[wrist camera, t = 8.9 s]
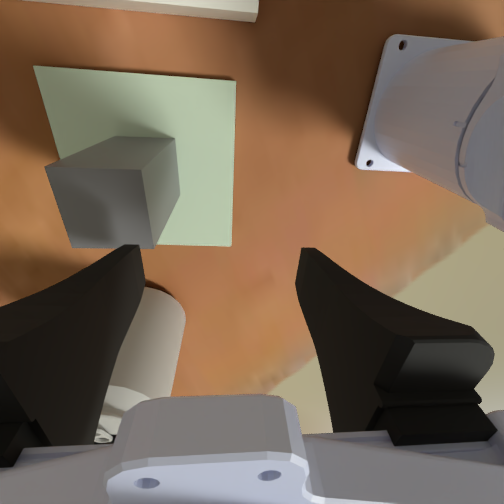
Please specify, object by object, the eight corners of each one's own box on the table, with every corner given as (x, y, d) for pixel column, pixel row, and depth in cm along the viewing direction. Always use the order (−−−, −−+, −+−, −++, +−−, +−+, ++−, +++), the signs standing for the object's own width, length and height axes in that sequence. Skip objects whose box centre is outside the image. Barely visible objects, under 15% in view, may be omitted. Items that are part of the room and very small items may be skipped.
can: (125, 340, 29) (67, 477, 19) (96, 286, 25) (4, 422, 15) (194, 331, 29) (173, 464, 19) (176, 275, 25) (137, 405, 15)
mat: (236, 81, 18) (236, 81, 17) (231, 243, 24) (231, 246, 23) (38, 65, 17) (32, 65, 16) (87, 239, 23) (84, 242, 22)
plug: (175, 138, 19) (141, 169, 12) (180, 194, 21) (154, 248, 14) (114, 135, 18) (44, 166, 12) (126, 193, 20) (72, 247, 14)
